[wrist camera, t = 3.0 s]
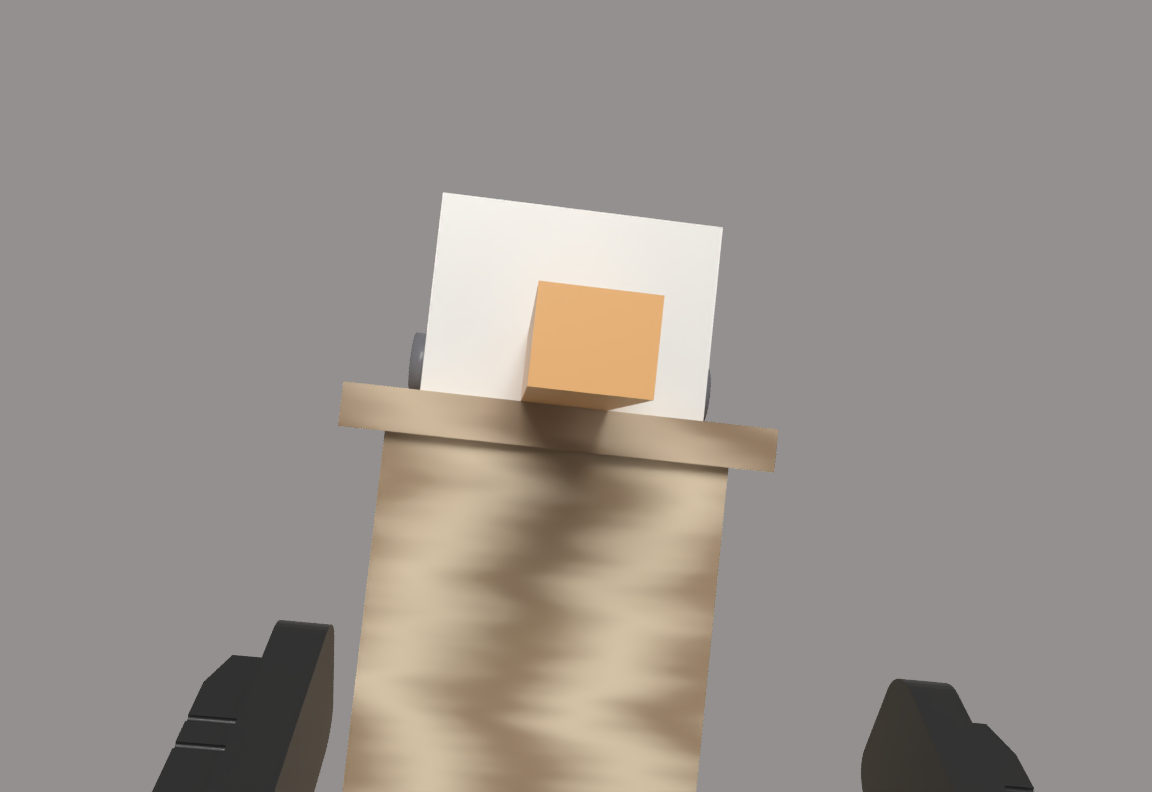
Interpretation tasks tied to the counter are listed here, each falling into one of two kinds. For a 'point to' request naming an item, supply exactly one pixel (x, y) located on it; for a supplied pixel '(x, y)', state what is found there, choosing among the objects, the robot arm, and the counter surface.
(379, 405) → the dock pedestal
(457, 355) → the white box with knobs
